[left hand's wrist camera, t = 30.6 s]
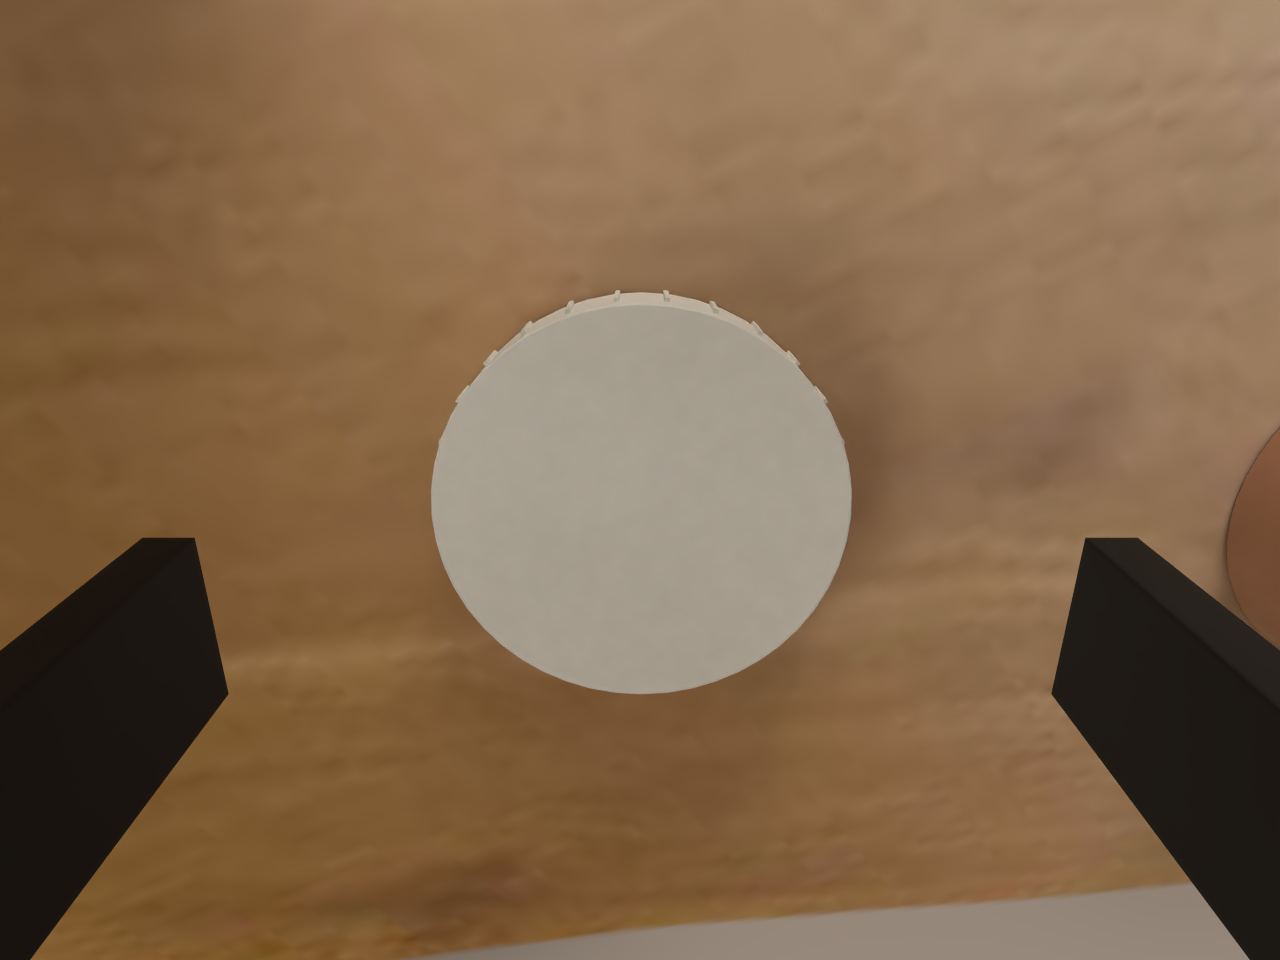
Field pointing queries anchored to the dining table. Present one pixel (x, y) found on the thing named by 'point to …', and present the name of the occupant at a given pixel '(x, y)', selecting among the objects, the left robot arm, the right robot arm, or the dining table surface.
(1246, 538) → the jar
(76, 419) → the dining table surface
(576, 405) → the lid
